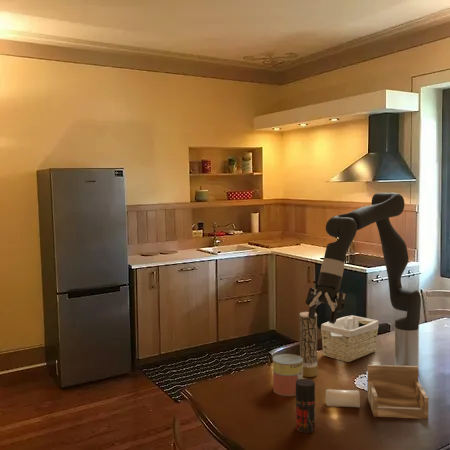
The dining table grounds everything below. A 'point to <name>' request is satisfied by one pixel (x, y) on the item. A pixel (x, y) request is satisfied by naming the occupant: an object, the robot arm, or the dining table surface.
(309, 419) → the deodorant
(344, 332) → the storage basket
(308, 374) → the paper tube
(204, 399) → the dining table surface
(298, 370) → the canned food
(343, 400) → the white cylinder
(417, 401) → the holder
